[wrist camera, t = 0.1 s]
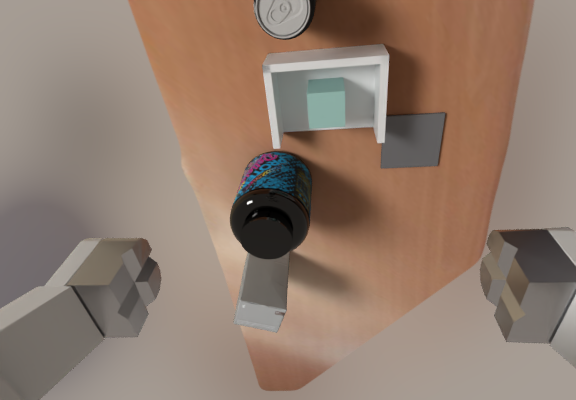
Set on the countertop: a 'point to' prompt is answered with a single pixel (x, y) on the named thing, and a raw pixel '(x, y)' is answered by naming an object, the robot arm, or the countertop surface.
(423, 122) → the mat
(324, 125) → the block
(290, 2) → the beverage can
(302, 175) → the container
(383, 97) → the bin
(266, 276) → the skincare box
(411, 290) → the countertop surface
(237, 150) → the countertop surface
